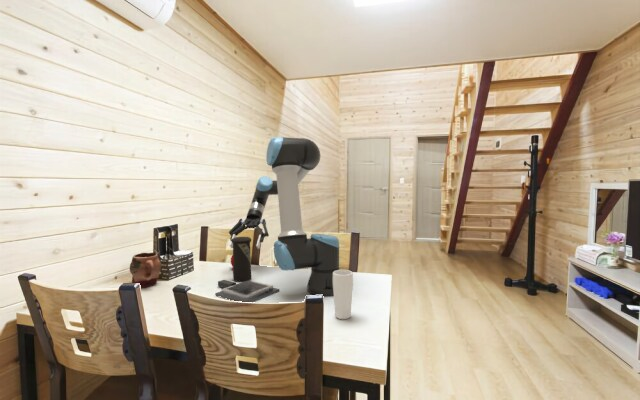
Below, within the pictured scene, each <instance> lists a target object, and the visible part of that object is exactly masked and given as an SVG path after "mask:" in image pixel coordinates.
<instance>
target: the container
mask: <svg viewBox="0 0 640 400" xmlns="http://www.w3.org/2000/svg"><path fill="white" fill-rule="evenodd" d="M230 242H232V243H233V248H232V255H233V266H232V271H233V273H232V277H233V279H232V280H233V282H239V283H242V282H245V281H248V280H250V281H252V261H251V257H252V256H251V242H252V238H251V237H249V236H236V238H233V239H232V240H231V241H230Z"/></svg>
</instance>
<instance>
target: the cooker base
mask: <svg viewBox="0 0 640 400" xmlns="http://www.w3.org/2000/svg"><path fill="white" fill-rule="evenodd" d="M217 287H221V290H220V291H218V292H215V295H216V296H215V295H214V296H215V297H218V296H221V297H222V298H221V297H220V298H221V299H225V298H227V299H226V300H228V301H231V300H234V301H242V302H252V303H255V302H258V301H259V300H262V299H264V298H265V299H266V298H267V297H269V296H271V295H274V294H276V293H279V292H280V288H276V287H274V285H272V284H271V285H270V284H267V283H263V282H258V281H255V280H254V281H253V280H248V281H244V282H239V283H236V281H231V280H226V279H221V280H218V281H217ZM229 299H230V300H229ZM234 301H233V302H234Z"/></svg>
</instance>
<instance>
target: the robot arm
mask: <svg viewBox="0 0 640 400" xmlns="http://www.w3.org/2000/svg"><path fill="white" fill-rule="evenodd" d="M265 158H266V163H267V165H268V166H269V167H271V171H272V172H273V174H275V175H276V177H275V178H276V180H273V179H272V178H271V177H268V176H265V175H263V176H261V177H259V179H258V181H257V183H256V186H255V190H254V194H253V196H252V200H251V203H250V206H249V209H248V212H247V215H246V218H245V219H243V218H240V219H238V222H236V224H235V225H233V227H232V228H230V230H229V231H228V234H229V235H230V238H229V240H230V243H229V246H230V249H233V243H232V242H231V240H232V239H233V238H236V237H238V235H240V234H241V233H242V232H243V231H244V230H247V229H256V230H257V231H258V232H259V235H258V238H257V242H256V244H255V247H256V249H257V250H260V249H261V244H262V243H263V242H264V241H265V240H264V239H265V237H269V236H270V235H269V232H268V231H269V230H268V228H267V221H266V219H265V218H263V219H262V217H263V214H264V211H265V207H266V205H267V201H268V198H269V196H274V195H276V196H277V198H278V209H279V210H278V211H279V222H280V223H279V224H280V233H279V234H278V235H277V240H276V241H275V242H274V243H273V254H274V258H275V261H276V264H277V266H278V267H279V269H281V270H283V271H294V270H295V271H296V270H301V269H302V270H303V269H309V268H311V271H310V276H309V278H308V282H307V289H306V290H307V293H308V294H309V293H310V294H311V295H314V294H323V295H324V296H323V297H325V296H326V297H328V296H329V297H331V296H332V297H333V296H334V294H333V272H334V271H336V270H340V241H339V238H338V237H337V236H335V235H330V234H323V233H322V234H321V233H312V234H311V235H310V238H308V237H307V236H308V234H307V233H306V232H305V231H304V229H303V220H302V210H301V201H300V191H299V190H300V189H299V184H300V183H301V181H303V179H304V178H305V177H306V176H307V175H308V174H309V172H310V171H312V170H314V169H316V168H317V166H318V164H319V163H320V160H321V151H320V148H319V147H318V145H317V144H316V143H315V142H314V141H313V140H311V139H308V138H302V137H301V138H298V137H284V136H281V137H277V136H274V137H272V138H270V140H269V142H268V145H267V148H266V157H265ZM259 225H262V227H263V230H262V229H261V227H260V226H259ZM263 231H264V232H263Z"/></svg>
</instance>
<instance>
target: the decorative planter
mask: <svg viewBox="0 0 640 400" xmlns="http://www.w3.org/2000/svg"><path fill="white" fill-rule="evenodd" d="M161 270H162V262H161V261H160V258H159V255H158V254H157V252H141V253H136V254H134V255H133V256H132V259H131V262H130V264H129V272H130V274H131V276H132V278H131V283H140V285H141V288H140V289H142V288H149V287H151V286H154V285H156V284H157V282H158V278H159V276H160V272H161Z"/></svg>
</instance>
